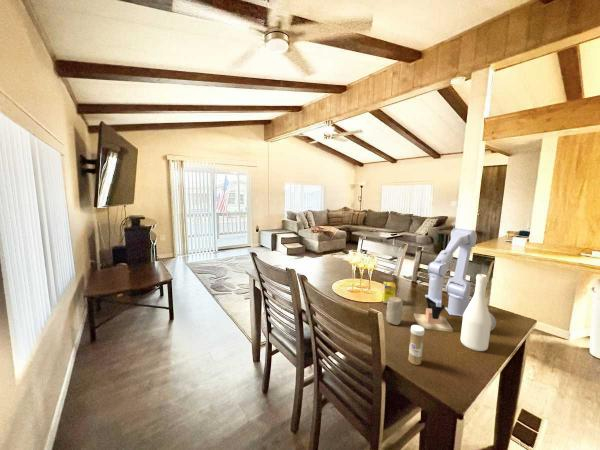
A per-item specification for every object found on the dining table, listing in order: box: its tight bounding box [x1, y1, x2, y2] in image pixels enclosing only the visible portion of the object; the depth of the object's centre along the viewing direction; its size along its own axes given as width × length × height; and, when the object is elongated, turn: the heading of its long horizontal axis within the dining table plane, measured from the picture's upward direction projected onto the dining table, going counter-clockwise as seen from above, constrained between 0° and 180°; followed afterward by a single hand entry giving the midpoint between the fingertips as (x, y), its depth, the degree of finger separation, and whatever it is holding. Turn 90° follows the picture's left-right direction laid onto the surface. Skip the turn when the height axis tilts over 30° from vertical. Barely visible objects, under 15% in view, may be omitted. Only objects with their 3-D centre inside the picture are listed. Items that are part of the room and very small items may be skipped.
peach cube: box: [425, 307, 441, 324], centre depth 124 cm, size 5×5×5 cm
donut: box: [489, 312, 497, 332], centre depth 118 cm, size 10×3×10 cm, turn 63°
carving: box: [385, 296, 404, 326], centre depth 124 cm, size 6×8×12 cm
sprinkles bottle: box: [407, 324, 425, 366], centre depth 96 cm, size 5×5×14 cm
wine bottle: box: [459, 273, 491, 352], centre depth 105 cm, size 10×10×30 cm
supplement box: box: [382, 281, 397, 305], centre depth 146 cm, size 6×6×11 cm
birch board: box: [413, 313, 454, 333], centre depth 124 cm, size 14×12×1 cm
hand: (432, 314), depth 124 cm, fingers open, 7 cm apart
